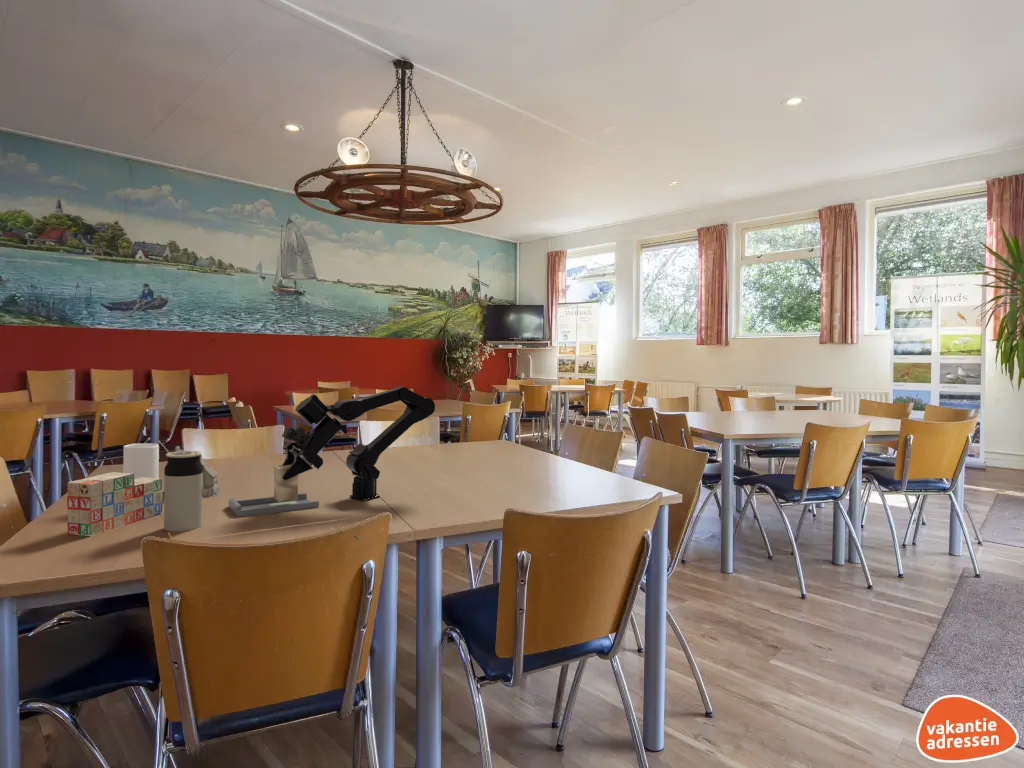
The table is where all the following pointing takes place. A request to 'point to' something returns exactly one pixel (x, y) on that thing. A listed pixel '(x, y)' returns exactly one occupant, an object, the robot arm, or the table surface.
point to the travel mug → (183, 491)
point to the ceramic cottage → (208, 478)
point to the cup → (141, 460)
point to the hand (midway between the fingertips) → (280, 477)
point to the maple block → (284, 485)
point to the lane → (269, 505)
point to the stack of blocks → (111, 502)
